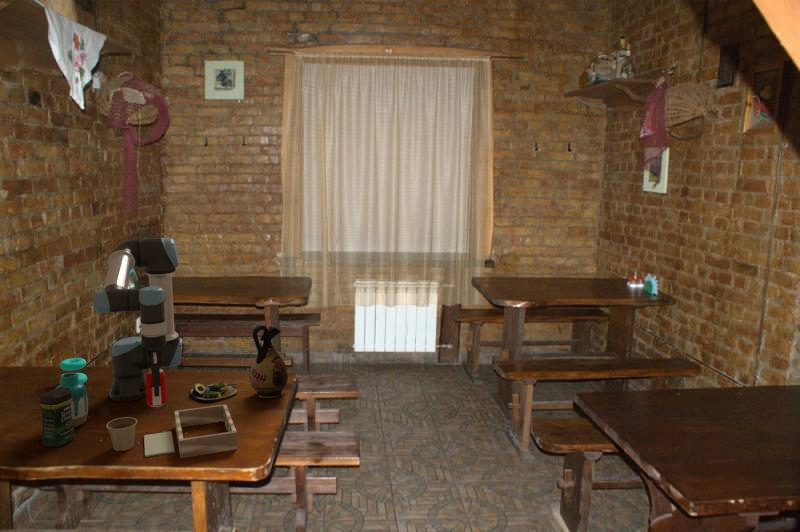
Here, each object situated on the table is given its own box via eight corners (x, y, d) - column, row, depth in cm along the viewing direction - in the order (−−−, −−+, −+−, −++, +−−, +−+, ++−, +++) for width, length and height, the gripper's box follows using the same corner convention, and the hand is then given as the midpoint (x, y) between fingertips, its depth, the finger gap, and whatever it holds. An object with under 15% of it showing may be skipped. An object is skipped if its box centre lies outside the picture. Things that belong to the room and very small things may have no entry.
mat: (144, 436, 214) (144, 435, 214) (171, 432, 218) (171, 431, 218) (145, 457, 200) (144, 455, 200) (174, 452, 203) (174, 450, 203)
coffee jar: (58, 449, 204) (54, 396, 201) (38, 446, 206) (33, 393, 203) (79, 437, 213) (76, 386, 210) (60, 434, 215) (56, 383, 212)
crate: (175, 426, 223) (174, 410, 222) (226, 419, 230) (226, 404, 229) (180, 458, 199) (179, 440, 198) (237, 449, 206) (236, 432, 205)
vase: (55, 434, 215) (51, 381, 212) (56, 422, 224) (52, 372, 221) (89, 428, 220) (85, 377, 217) (88, 417, 229) (85, 368, 226)
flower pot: (127, 455, 201) (125, 430, 199) (101, 452, 203) (99, 427, 201) (144, 442, 210) (143, 418, 208) (120, 439, 212) (118, 416, 210)
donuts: (89, 361, 263) (63, 365, 256) (90, 383, 264) (65, 388, 258) (82, 355, 270) (56, 360, 263) (83, 377, 272) (58, 382, 265)
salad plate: (226, 382, 269) (226, 372, 268) (247, 394, 256) (247, 383, 256) (184, 393, 256) (183, 382, 255) (204, 406, 243) (203, 394, 242)
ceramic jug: (274, 385, 266) (273, 317, 261) (295, 395, 255) (294, 324, 250) (239, 395, 254) (237, 324, 249) (259, 405, 243) (258, 332, 238)
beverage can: (166, 407, 204) (164, 372, 202) (146, 409, 203) (144, 374, 201) (167, 400, 210) (165, 367, 208) (147, 402, 208) (146, 368, 206)
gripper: (140, 328, 210) (144, 392, 213) (141, 343, 192) (145, 413, 196) (164, 326, 213) (167, 390, 216) (167, 340, 195) (170, 410, 199)
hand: (156, 400), depth 206 cm, fingers closed on beverage can, 6 cm apart
